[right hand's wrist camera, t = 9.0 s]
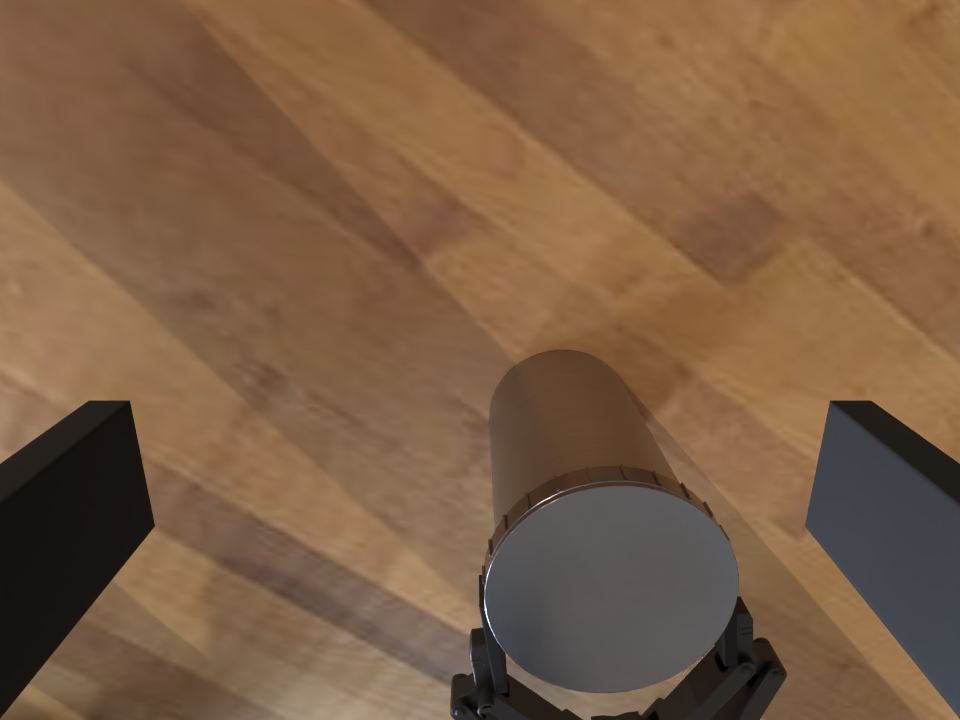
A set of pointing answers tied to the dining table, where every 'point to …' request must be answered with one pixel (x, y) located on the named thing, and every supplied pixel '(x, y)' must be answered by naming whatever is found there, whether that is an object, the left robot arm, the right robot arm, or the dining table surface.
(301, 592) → the dining table surface
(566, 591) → the lid
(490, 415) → the jar
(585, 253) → the dining table surface
